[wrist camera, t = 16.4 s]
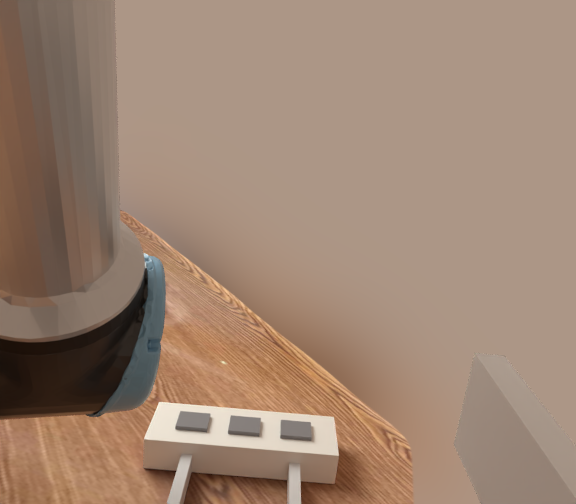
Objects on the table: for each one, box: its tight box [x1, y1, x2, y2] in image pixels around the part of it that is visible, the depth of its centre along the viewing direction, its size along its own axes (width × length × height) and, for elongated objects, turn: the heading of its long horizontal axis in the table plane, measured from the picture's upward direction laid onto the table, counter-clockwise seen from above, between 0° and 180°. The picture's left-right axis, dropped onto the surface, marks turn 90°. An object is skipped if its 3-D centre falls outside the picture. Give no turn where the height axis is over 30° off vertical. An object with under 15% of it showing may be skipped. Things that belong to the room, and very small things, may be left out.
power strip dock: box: [143, 402, 339, 504], centre depth 47 cm, size 18×16×4 cm
